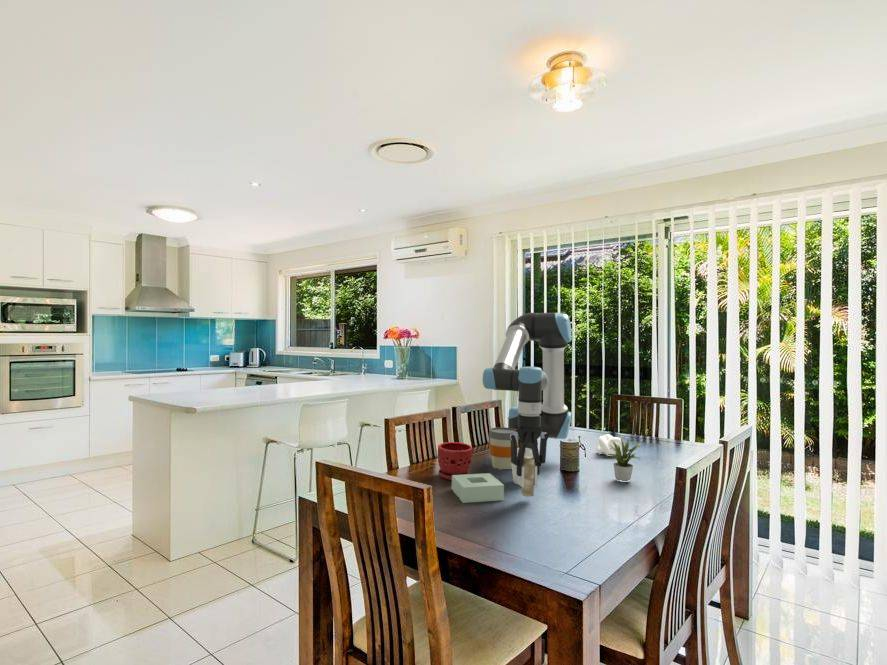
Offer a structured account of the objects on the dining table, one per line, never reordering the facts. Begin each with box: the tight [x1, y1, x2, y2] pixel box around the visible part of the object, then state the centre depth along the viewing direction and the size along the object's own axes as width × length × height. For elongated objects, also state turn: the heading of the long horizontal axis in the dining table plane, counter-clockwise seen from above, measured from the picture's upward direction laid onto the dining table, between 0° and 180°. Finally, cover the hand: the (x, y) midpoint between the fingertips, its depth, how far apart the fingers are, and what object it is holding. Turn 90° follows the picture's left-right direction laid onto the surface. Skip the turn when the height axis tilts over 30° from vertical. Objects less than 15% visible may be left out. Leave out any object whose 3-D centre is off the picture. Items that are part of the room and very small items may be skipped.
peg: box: [520, 457, 535, 498], centre depth 169 cm, size 4×4×12 cm
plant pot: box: [437, 441, 473, 481], centre depth 194 cm, size 13×13×12 cm
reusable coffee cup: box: [488, 426, 519, 470], centre depth 211 cm, size 13×13×15 cm
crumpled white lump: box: [595, 433, 622, 457], centre depth 236 cm, size 11×12×9 cm
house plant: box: [606, 438, 642, 481], centre depth 194 cm, size 14×14×16 cm
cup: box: [511, 448, 535, 486], centre depth 190 cm, size 9×9×12 cm
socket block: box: [451, 472, 505, 504], centre depth 175 cm, size 14×14×5 cm
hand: (527, 484), depth 169 cm, fingers closed on peg, 4 cm apart
